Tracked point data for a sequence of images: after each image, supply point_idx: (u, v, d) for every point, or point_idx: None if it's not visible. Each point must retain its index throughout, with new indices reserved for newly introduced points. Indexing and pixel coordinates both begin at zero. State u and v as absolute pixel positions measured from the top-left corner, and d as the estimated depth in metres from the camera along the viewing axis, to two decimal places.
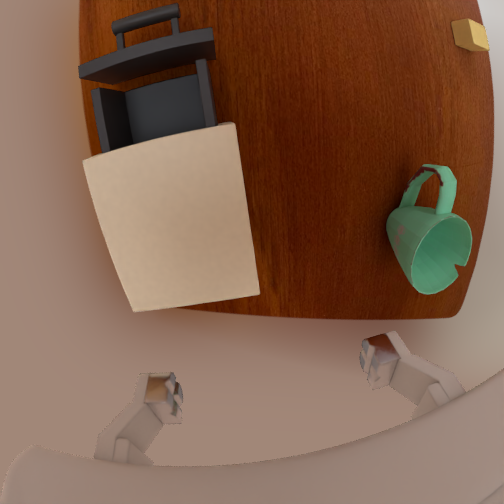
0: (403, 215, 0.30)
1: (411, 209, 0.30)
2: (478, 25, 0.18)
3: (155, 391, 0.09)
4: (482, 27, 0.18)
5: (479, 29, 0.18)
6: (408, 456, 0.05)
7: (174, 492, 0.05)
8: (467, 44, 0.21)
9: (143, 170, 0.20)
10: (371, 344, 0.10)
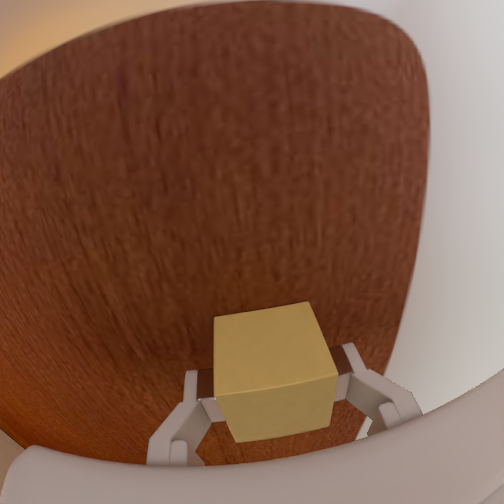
0: None
1: None
2: (286, 391, 0.08)
3: (207, 388, 0.10)
4: (317, 385, 0.08)
5: (285, 401, 0.09)
6: (408, 456, 0.05)
7: (174, 492, 0.05)
8: None
9: None
10: None
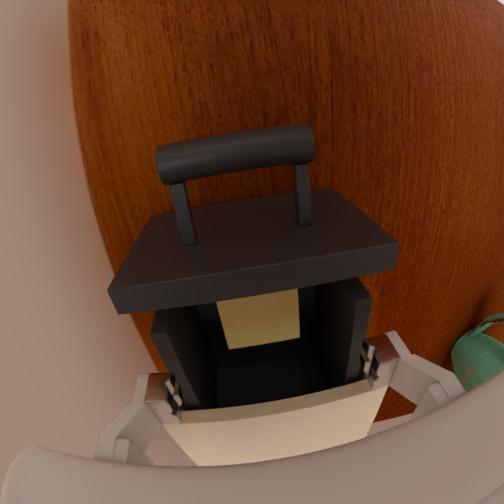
0: (475, 353, 0.24)
1: (482, 346, 0.24)
2: None
3: (155, 391, 0.09)
4: None
5: (262, 302, 0.14)
6: (408, 456, 0.05)
7: (174, 492, 0.05)
8: None
9: (259, 434, 0.14)
10: (371, 344, 0.10)
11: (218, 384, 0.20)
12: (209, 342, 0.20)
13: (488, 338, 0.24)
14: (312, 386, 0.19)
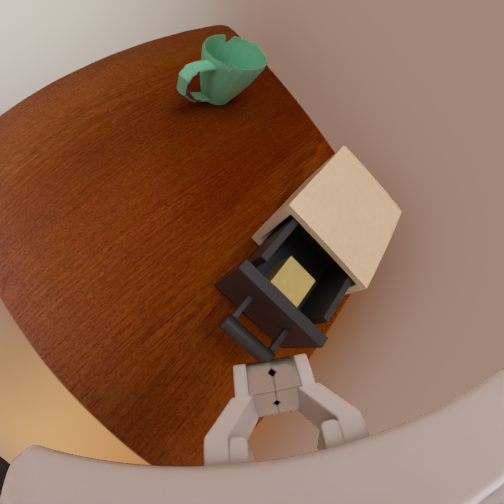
0: (221, 92, 0.37)
1: (212, 89, 0.37)
2: (284, 290, 0.29)
3: (259, 381, 0.10)
4: (277, 283, 0.29)
5: (288, 286, 0.29)
6: (408, 456, 0.05)
7: (174, 492, 0.05)
8: None
9: (346, 243, 0.29)
10: (273, 366, 0.10)
11: None
12: (319, 279, 0.36)
13: (203, 86, 0.37)
14: None
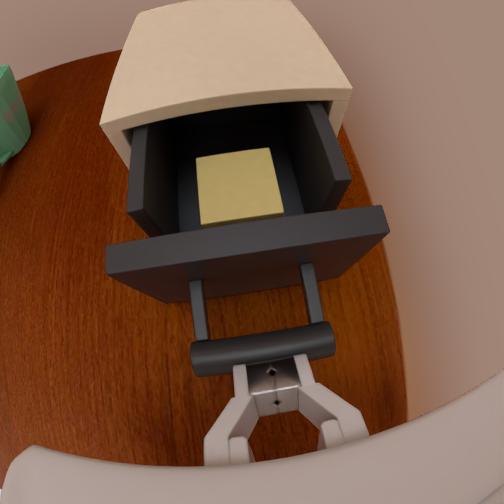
0: (5, 135, 0.20)
1: None
2: (235, 211, 0.14)
3: (259, 381, 0.10)
4: (214, 214, 0.13)
5: (235, 199, 0.14)
6: (408, 456, 0.05)
7: (174, 492, 0.05)
8: None
9: (244, 67, 0.12)
10: (273, 366, 0.10)
11: None
12: (285, 145, 0.19)
13: None
14: None
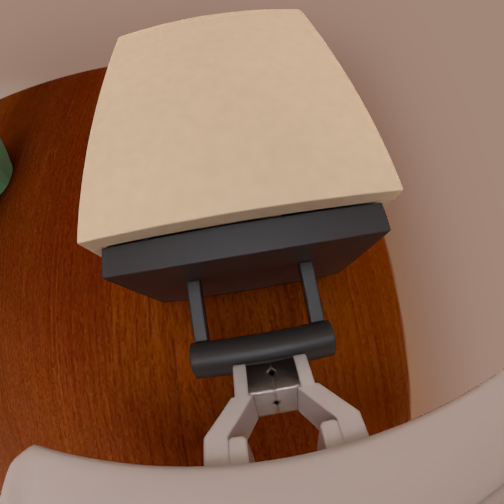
0: None
1: None
2: None
3: (259, 381, 0.10)
4: None
5: None
6: (408, 456, 0.05)
7: (174, 492, 0.05)
8: None
9: (263, 153, 0.10)
10: (273, 367, 0.10)
11: None
12: None
13: None
14: None
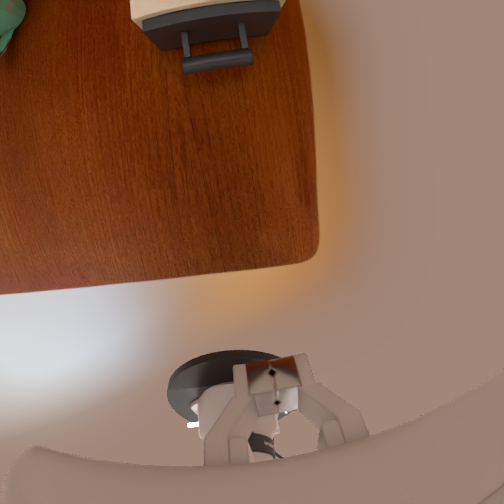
0: (8, 20, 0.14)
1: (2, 28, 0.14)
2: None
3: (259, 381, 0.10)
4: None
5: None
6: (408, 456, 0.05)
7: (174, 492, 0.05)
8: None
9: None
10: (273, 366, 0.10)
11: None
12: None
13: None
14: None
